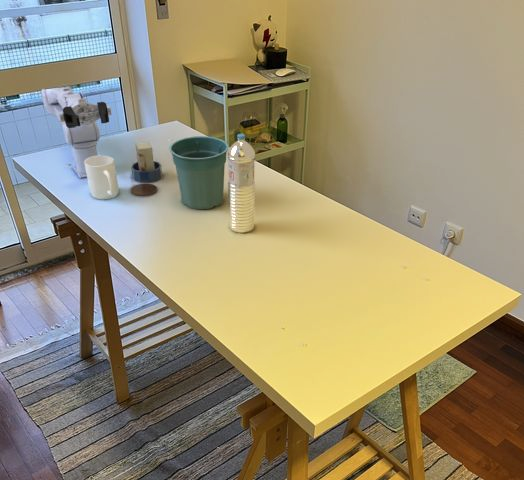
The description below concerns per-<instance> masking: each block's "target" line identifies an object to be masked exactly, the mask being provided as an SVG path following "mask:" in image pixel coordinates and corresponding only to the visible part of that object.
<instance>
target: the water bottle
mask: <svg viewBox="0 0 524 480" xmlns="http://www.w3.org/2000/svg"><path fill="white" fill-rule="evenodd" d="M236 139H237V140H236V141H235V142H233V144H232V145H230V146H229V148H228V151H227V162H228V183H227V184H228V217H229V218H228V219H229V227H230V230H232V231H233V232H235V233H239V234H243V233H244V234H245V233H248V232H252V231H253V230H254V228H255V223H256V222H255V220H256V219H255V213H256V212H255V211H256V210H255V206H256V205H255V204H256V203H255V199H256V197H255V196H256V193H255V192H256V190H255V188H256V185H255V184H256V182H255V158H256V152H255V151H256V150H255V149H254V147H252V145H251V144H250V143H249V142H247V141H246V135H245V133H238V134H237V135H236Z"/></svg>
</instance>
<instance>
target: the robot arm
mask: <svg viewBox="0 0 524 480" xmlns="http://www.w3.org/2000/svg"><path fill="white" fill-rule="evenodd" d="M40 95H41V100H42V103H43V106H44V108H45V110H46V111H47V113H48V114H50V115H51V116H53V117H55V118H56V119H57V120H58V122H59V123H60V124H61V126H62V132H63V137H64V140H65V141H66V143H67V145H68V146H71V151H72V155H73V160H74V163H75V165H73V166H72V169H73V170H74V171H75V174H77V176H78V178H79V179H83V178H87V173H86V168H85V163H84V161H85V160H86V159H87V158H89V157H93V156H99V154H98V149H97V145H98V142H99V141H100V138H101V137H100V135H101V134H100V129H99V126H98V123H97V121H98V120H100V123H101V124H107V123H109V122H110V116H112V109H111V108H112V107H110V106H109V105H107V103H106V102H104V101H98V102H96V104H95V103H91V102H87V100H86V98H84V95H83V93H82V92H78V93H75V92H74V91H73V89H72V87H70V86H69V85H68V86H63V87H55V88H54V87H53V88H47V89H45V88H42V89H41V91H40Z"/></svg>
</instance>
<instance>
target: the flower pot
mask: <svg viewBox="0 0 524 480" xmlns="http://www.w3.org/2000/svg"><path fill="white" fill-rule="evenodd" d="M229 148H230V145H229V144H228V143H227V141H225V140H224V139H221V138H219V137H214V136H207V135H196V136H188V137H183V138H180V139H176V140H175V141H174V142H172V143H171V144H170V145H169V147H168V150H169V152H170V154H171V156H172V160H173V164H174V166H175V170H176V176H177V182H178V186H179V187H178V188H179V191H180V197H181V202H182V203H183V205H184V206H185V205H186V206H187V207H188V208H189V209H194V210H209V209H213V207H218V206H220V205H221V204H222V203H223V201H224V186H225V169H226V167H225V166H226V163H227V155H228V150H229Z"/></svg>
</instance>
